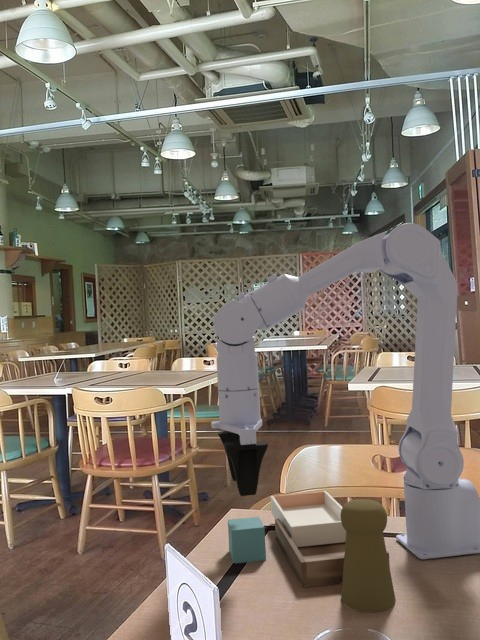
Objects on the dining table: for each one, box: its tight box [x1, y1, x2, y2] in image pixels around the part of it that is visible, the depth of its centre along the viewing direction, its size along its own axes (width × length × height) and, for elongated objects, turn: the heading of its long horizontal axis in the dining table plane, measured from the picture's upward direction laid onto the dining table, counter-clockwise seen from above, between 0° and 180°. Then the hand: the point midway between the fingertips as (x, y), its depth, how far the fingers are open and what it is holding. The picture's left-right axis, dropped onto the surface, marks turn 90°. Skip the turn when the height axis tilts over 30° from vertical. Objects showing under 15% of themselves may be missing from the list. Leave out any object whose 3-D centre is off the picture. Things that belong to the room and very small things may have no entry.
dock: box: [274, 518, 391, 588], centre depth 77 cm, size 11×16×3 cm
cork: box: [340, 498, 397, 613], centre depth 65 cm, size 6×6×11 cm
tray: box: [270, 490, 346, 547], centre depth 86 cm, size 9×15×3 cm, turn 8°
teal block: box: [227, 516, 267, 564], centre depth 79 cm, size 4×4×4 cm
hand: (243, 487), depth 79 cm, fingers open, 7 cm apart
